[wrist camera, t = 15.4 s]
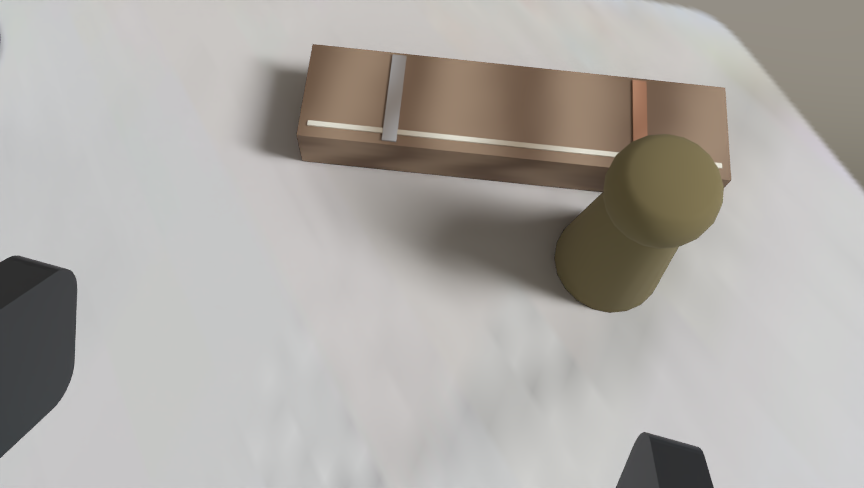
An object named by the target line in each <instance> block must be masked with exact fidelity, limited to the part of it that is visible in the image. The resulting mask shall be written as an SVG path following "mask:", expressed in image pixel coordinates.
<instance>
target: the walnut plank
mask: <svg viewBox="0 0 864 488" xmlns="http://www.w3.org/2000/svg"><path fill="white" fill-rule="evenodd" d="M658 134H670V135H675V136H680V137H684V138H686V139H688V140H690V141H692V142H694V143H696V144H698V145H699V146H700V147H701V148H703V149H704V150H705V151H706V152H707V153H708V154H709V155H710V156H711V158H712V159H713V161H714V162H715V164H716V165H717V167H718V169H719V171H720V175H721V179H722V182H723V186H724V187H725V186H726V185H727V184H728V183H729V182H730V181H731V170H730V155H729V139H728V124H727V109H726V93H725V88H722V87H713V86H703V85H694V84H684V83H675V82H665V81H656V80H646V79H637V78H627V77H618V76H608V75H599V74H590V73H580V72H571V71H561V70H552V69H542V68H533V67H523V66H514V65H504V64H495V63H485V62H476V61H467V60H457V59H448V58H438V57H429V56H419V55H410V54H400V53H391V52H381V51H372V50H362V49H353V48H344V47H334V46H325V45H315V44H313V46H312V51H311V57H310V62H309V68H308V73H307V79H306V85H305V90H304V96H303V101H302V107H301V112H300V118H299V124H298V129H297V140H298V144H299V148H300V152H301V157H302V161H309V162H319V163H328V164H338V165H348V166H357V167H367V168H377V169H386V170H396V171H406V172H415V173H425V174H435V175H444V176H454V177H464V178H473V179H483V180H493V181H502V182H512V183H522V184H531V185H541V186H551V187H560V188H570V189H580V190H589V191H599V192H603V189H604V181H605V175H606V173H607V171H608V169H609V167H610V165H611V163H612V162H613V160H614V158H615V156H616V155H617V154H618V153H619V152H620V151H621V150H623V149H624V148H625V147H626V146H627V145H628V144H630V143H631V142H633V141H635V140H637V139H640V138H642V137H645V136H647V135H658Z"/></svg>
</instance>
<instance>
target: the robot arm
mask: <svg viewBox="0 0 864 488" xmlns="http://www.w3.org/2000/svg"><path fill="white" fill-rule="evenodd" d="M0 41H1V36H0ZM76 306H77V281H76V278H75V275H74V274H73V272H72V271H70V270H68V269H65V268H61V267H58V266H54V265H50V264H47V263H43V262H40V261H36V260H32V259H29V258H25V257H22V256H11V257H9V258H7V259H5V260H3V261H2V262H0V458H1V457H2V456H3V455H4V454H5V453H6V452H7V451H8V450H9V449H11V448H12V447H13V446H14V445H15V444H16V443H17V442H18V441H19V440H20V439H21V438H22V437H23V436H24V435H25V434H27V433H28V432H29V431H30V430H31V429H32V428H33V427H34V426H35V425H36V424H37V423H38V422H39V421H40V420H41V419H43V418H44V417H45V416H46V415H47V414H48V413H49V412H50V411H51V410H52V409H53V408H54V407H55V406H56V405H57V404H58V402H59V401H60V400H61V398H62V397H63V395H64V393H65V391H66V390H67V387H68V385H69V383H70V380H71V377H72V374H73V369H74V361H75V334H76ZM616 488H714V487H713V484H712V481H711V477H710V474H709V470H708V467H707V463H706V460H705V457H704V454H703V451H702V450H701V449H700V448H699V447H696V446H693V445H689V444H686V443H682V442H678V441H675V440H671V439H668V438H664V437H661V436H657V435H653V434H650V433H646V432H643V433H641V434H640V435H639V437H638V438H637V440H636V441H635V444H634V446H633V448H632V450H631V453H630V455H629V458H628V460H627V462H626V465H625V467H624V469H623V472H622V474H621V477H620V479H619V481H618V484H617V486H616Z"/></svg>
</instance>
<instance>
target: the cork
mask: <svg viewBox="0 0 864 488" xmlns="http://www.w3.org/2000/svg"><path fill="white" fill-rule="evenodd" d="M723 190H724V186H723V182H722V179H721V175H720V171H719V169H718V167H717V165H716V164H715V162H714V161H713V159H712V158H711V156H710V155H709V154H708V153H707V152H706V151H705V150H704V149H703V148H701V147H700V146H699V145H698V144H696V143H694V142H692V141H690V140H688V139H686V138H684V137H680V136H675V135H670V134H658V135H647V136H645V137H642V138H640V139H637V140H635V141H633V142H631V143H630V144H628V145H627V146H626V147H625V148H624V149H623V150H621V151H620V152H619V153H618V154H617V155H616V156H615V158H614V160H613V162H612V163H611V165H610V167H609V169H608V171H607V173H606V175H605V181H604V189H603V193H602V194H601V195H599V196H598V197H597V198H596V199H595V200H594V201H593V202H592V203H591V204H590V205H589V206H588V207H587V208H586V209H585V210H584V211H583V212H582V213H581V214H580V215H579V216H578V217H577V218H575V219H574V220H573V221H572V222H571V223H570V224H569V225H568V226H567V227H566V228H565V229H564V230H563V232H562V234H561V236H560V238H559V240H558V241H557V245H556V251H555V264H556V269H557V274H558V276H559V278H560V280H561V282H562V283H563V285H564V287H565V289H566V290H567V291H568V292H569V293H570V294H571V295H572V296H573V297H574V298H575V299H576V300H577V301H579V302H581V303H583V304H584V305H586V306H588V307H590V308H592V309H595V310H600V311H604V312H609V313H611V312H621V311H627V310H630V309H632V308H634V307H636V306H639V305H641V304H642V303H643V302H644V301H645V300H646V299H647V298H648V297H649V296H650V295H651V294H652V293H653V291H654V290H655V288H656V286H657V284H658V283H659V281H660V279H661V277H662V275H663V274H664V272H665V270H666V268H667V267H668V265H669V263H670V261H671V259H672V258H673V256H674V254H675V252H676V251H677V249H678V247H679V246H682V245H684V244H686V243H689V242H691V241H693V240H696V239H697V238H698V237H699V236H701V235H702V234H703V233H704V232H705V231H706V230H707V229H708V228H709V227H710V226H711V225H712V224H713V223H714V221H715V219H716V217H717V215H718V213H719V211H720V208H721V206H722V203H723Z"/></svg>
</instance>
